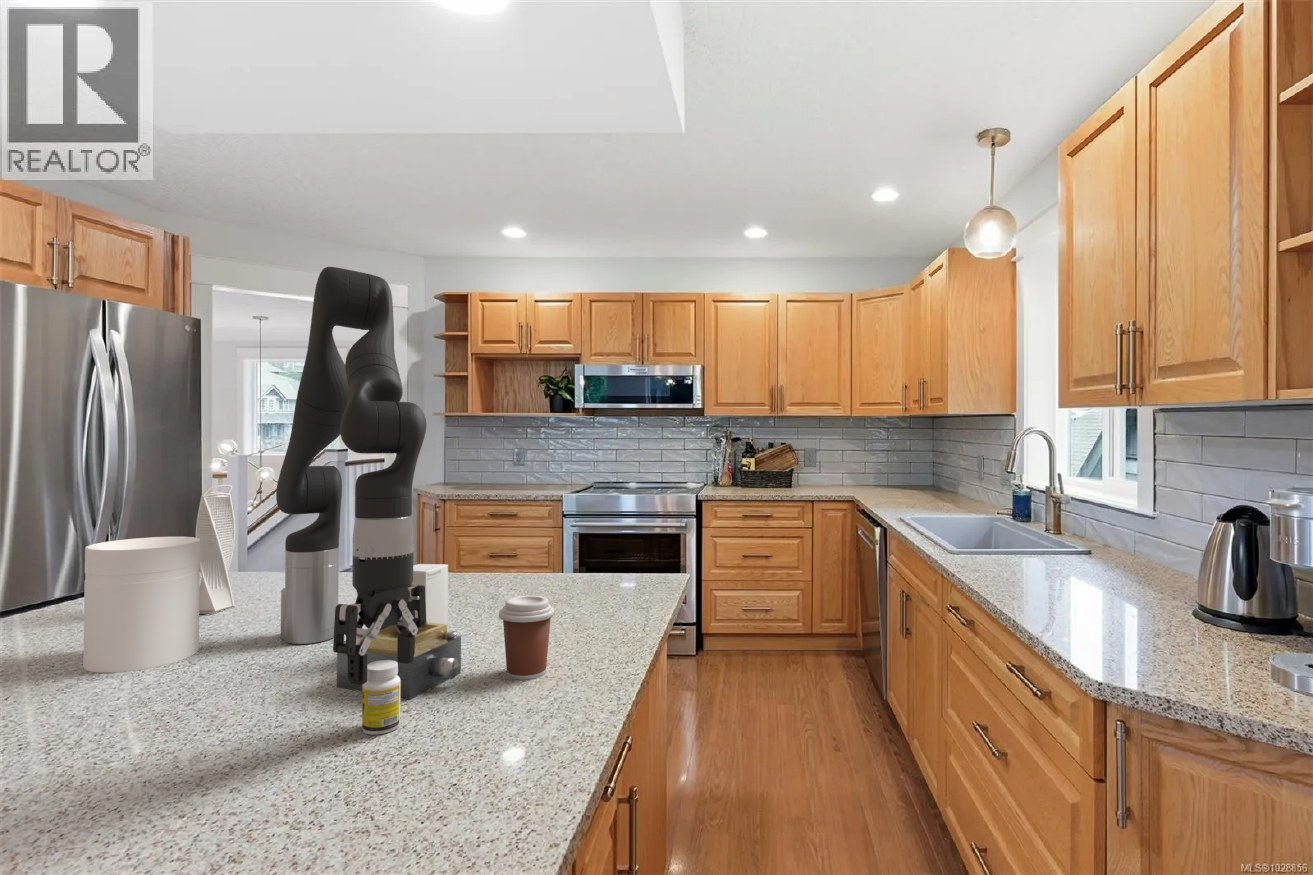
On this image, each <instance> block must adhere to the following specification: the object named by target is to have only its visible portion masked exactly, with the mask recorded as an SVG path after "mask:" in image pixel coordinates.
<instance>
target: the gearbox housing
mask: <svg viewBox="0 0 1313 875" xmlns="http://www.w3.org/2000/svg"><path fill="white" fill-rule="evenodd" d="M398 635H401V634H399V633H398V631H397V630H396V628H395V627H394V626H388V627H387V628H385V629H383V630H380V631H379V633H378V635H377V637H376V638H374V639H373V640H372V641H371V643H370V645H369V647H368V649H367V651H366V653H365V654H367V665H368V664H369V663H372V662H375V661H380V660H393V661H396V662H397V663H398V674H397V676H399V677H400V680H401V692H400V699H403V700H404V699H405V700H409V701H410V700H413V699H414V698H417V696H420V695H422V694H424V693H425V692H428V691H430V690H431V689H433V688H435V687H437V686H439V685H441V684H443V683H445V682H446V681H448V680H453V679H454V678H456V676H457V675H460V674H461V673H462V636H459V635H458V631H456V630H455V631H448V633H447V625H445V624H437V623H429V622H426V625H425V627H420V628H419V629H418V632H417V634H416V635H415V654H414V660H413V662H411V663H409V664H405V663H399V662H398V660H397V640H398ZM362 638H363V637H361V638H360V639H359V641H358V643H357V645H359V644H360V642H361V640H362ZM344 643H346V640H344ZM336 657H337V658H336V688H341V689H345V690H346V689H347V690H350V691H359V692H362V686H363V684H362V685H356V684H351V683H350V680H349V679H348V656H347V655H346V654H342V653H336Z"/></svg>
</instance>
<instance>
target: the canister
mask: <svg viewBox="0 0 1313 875" xmlns="http://www.w3.org/2000/svg"><path fill="white" fill-rule="evenodd" d="M199 563H200V539H199V538H196V537H194V536H193V537H192V536H153V537H152V536H151V537H139V538H138V537H137V538H126V539H118V540H108V541H102V542H97V543H92V544H89V545H85V547H84V574H85V580H84V588H83V590H84V594H83V595H84V599H83V603H84V605H83V607H84V608H83V650H82V652H83V657H82V658H83V661H82V665H83V666H82V668H83V669H84V670H86V671H87V672H92V673H93V672H94V673H99V674H100V673H101V674H102V673H105V674H106V673H109V674H110V673H113V674H115V673H125V672H126V673H127V672H135V671H141V670H142V671H143V670H147V669H153V668H157V667H163V666H166V665H170V664H174V663H176V662H179V661H182V660H183V661H184V660H185V659H188V658H190V657H192V656H194V655H195V654H196V653H197V652H198V651H199V650H200V647H199V643H200V639H199V638H200V615H199V588H200V584H201V580H200V578H201V572H200V568H199Z"/></svg>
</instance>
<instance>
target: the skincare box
mask: <svg viewBox="0 0 1313 875" xmlns="http://www.w3.org/2000/svg"><path fill="white" fill-rule="evenodd" d="M412 585H423V586H425V597H426V622H429V623H437V624H445V625H447V633H448V632H449V564H445V563H443V564H442V563H440V564H437V563H436V564H435V563H418V564H413V582H412ZM415 618H418V612H417V611H416V610H415Z"/></svg>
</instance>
